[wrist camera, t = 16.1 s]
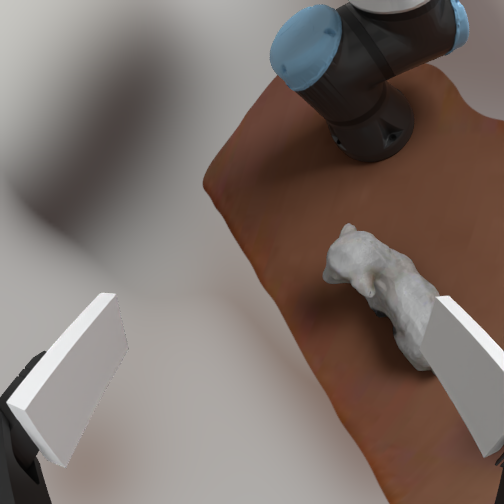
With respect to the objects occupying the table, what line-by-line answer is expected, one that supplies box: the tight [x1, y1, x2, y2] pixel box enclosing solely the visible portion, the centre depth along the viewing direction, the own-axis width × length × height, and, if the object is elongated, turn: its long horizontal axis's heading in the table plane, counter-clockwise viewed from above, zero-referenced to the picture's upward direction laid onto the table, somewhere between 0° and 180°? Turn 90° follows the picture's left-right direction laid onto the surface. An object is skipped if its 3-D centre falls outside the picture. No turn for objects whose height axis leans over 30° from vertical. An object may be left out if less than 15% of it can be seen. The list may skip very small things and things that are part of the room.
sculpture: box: [323, 223, 440, 375], centre depth 32 cm, size 11×21×15 cm, turn 47°
